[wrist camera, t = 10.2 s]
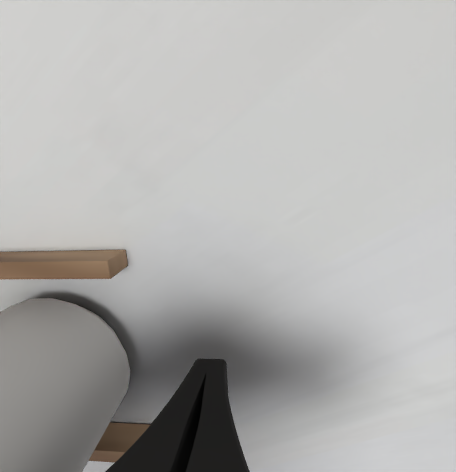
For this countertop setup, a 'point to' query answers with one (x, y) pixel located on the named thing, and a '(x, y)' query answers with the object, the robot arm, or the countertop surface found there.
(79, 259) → the pair of wooden slats
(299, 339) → the countertop surface
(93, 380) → the can
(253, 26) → the countertop surface
